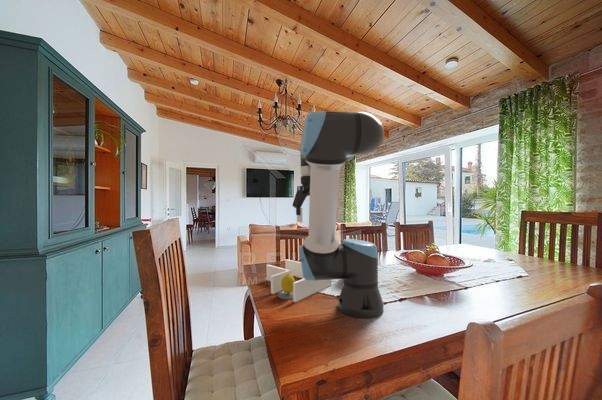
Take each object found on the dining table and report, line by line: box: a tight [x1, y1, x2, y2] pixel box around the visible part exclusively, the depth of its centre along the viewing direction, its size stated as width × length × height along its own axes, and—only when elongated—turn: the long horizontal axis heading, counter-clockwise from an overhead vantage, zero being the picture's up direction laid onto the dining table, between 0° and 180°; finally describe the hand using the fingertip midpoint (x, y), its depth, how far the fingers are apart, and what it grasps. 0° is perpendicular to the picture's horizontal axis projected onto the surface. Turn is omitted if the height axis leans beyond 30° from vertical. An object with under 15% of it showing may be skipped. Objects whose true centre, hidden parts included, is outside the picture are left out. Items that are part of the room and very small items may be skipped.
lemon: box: [281, 274, 296, 294], centre depth 100 cm, size 6×6×8 cm
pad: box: [277, 291, 293, 300], centre depth 100 cm, size 8×8×1 cm
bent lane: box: [265, 259, 332, 303], centre depth 111 cm, size 27×23×7 cm
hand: (309, 221), depth 121 cm, fingers open, 13 cm apart
